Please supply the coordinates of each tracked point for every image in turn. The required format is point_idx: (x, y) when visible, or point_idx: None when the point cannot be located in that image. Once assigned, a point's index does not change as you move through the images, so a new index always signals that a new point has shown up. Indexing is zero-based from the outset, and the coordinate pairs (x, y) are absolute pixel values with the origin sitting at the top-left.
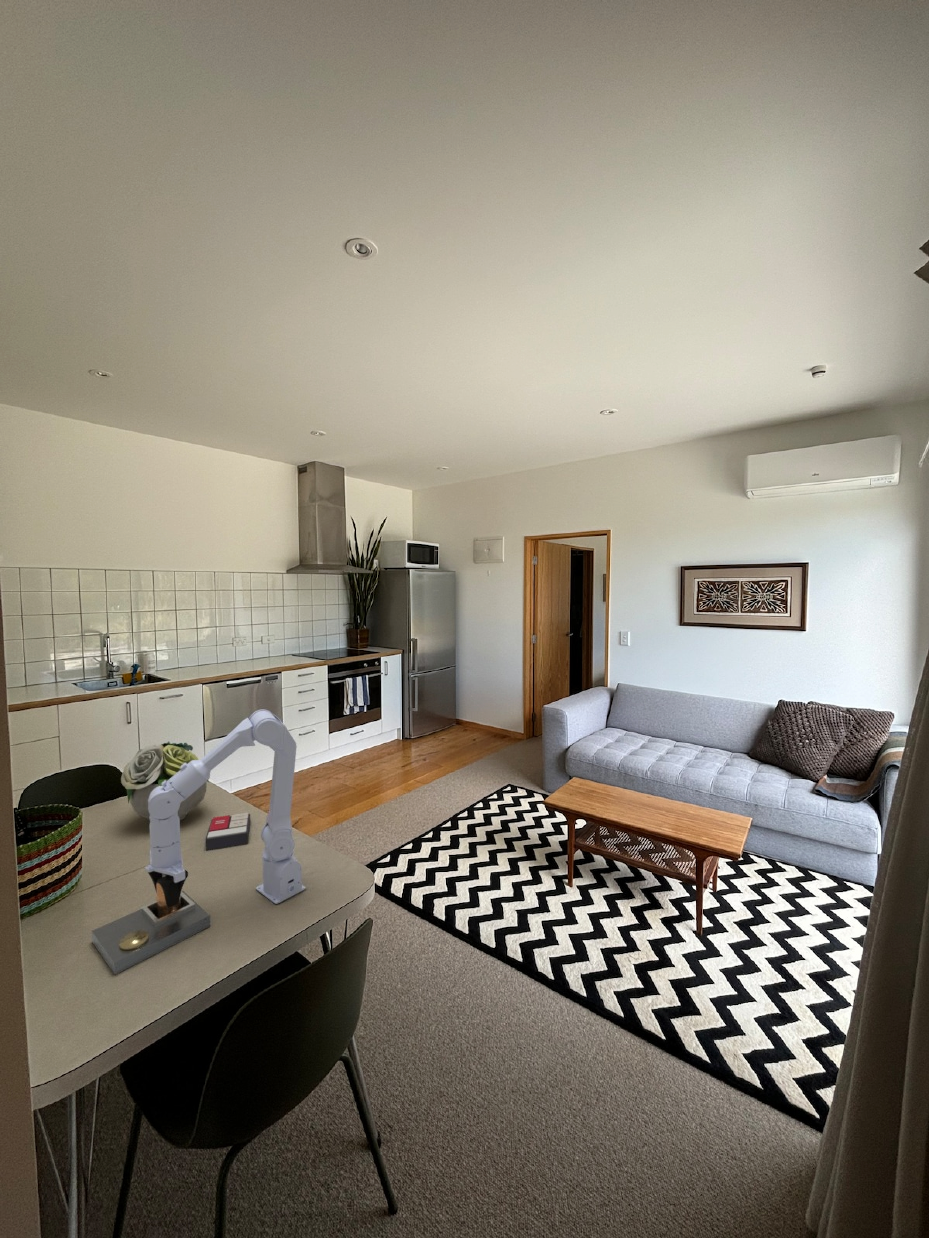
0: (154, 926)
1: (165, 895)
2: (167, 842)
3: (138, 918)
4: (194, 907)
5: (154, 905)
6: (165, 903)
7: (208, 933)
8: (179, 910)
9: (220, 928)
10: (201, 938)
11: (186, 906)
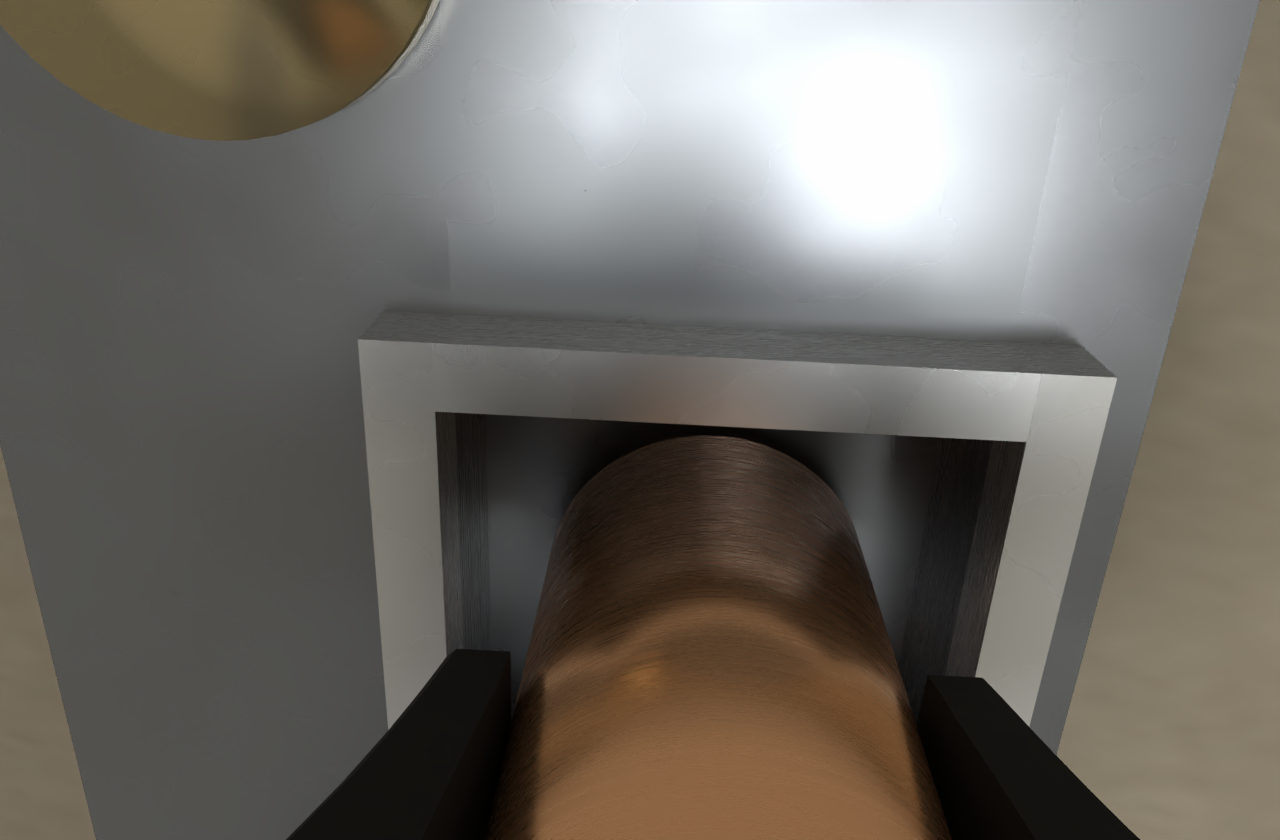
0: (422, 306)
1: (310, 837)
2: None
3: (906, 224)
4: None
5: (989, 540)
6: (548, 673)
7: (50, 676)
8: None
9: (54, 781)
10: (5, 595)
11: None
